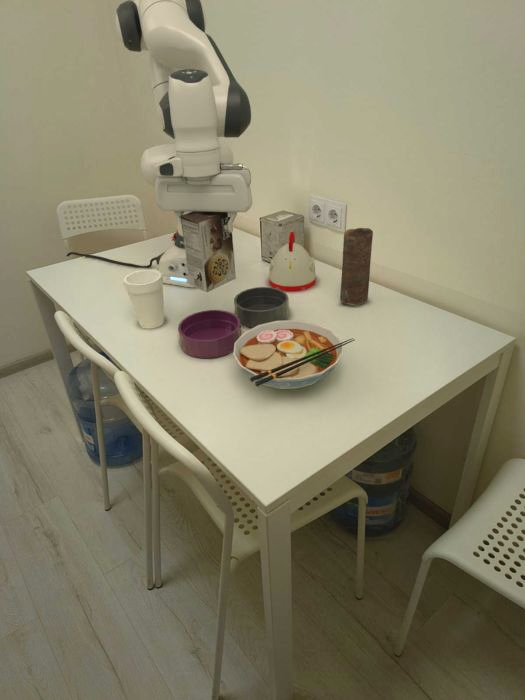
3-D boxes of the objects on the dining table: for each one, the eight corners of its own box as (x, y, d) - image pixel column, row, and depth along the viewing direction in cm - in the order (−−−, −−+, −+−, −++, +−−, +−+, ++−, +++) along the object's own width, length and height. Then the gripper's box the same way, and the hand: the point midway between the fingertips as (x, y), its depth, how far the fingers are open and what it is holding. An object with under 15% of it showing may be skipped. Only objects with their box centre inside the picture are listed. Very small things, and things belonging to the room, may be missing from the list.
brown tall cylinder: (367, 309, 126) (372, 236, 115) (339, 308, 128) (342, 235, 117) (367, 296, 132) (373, 225, 122) (341, 295, 134) (344, 225, 123)
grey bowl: (229, 326, 122) (227, 309, 119) (243, 301, 134) (242, 285, 131) (282, 331, 119) (282, 313, 116) (293, 305, 130) (292, 288, 128)
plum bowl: (171, 356, 112) (167, 338, 109) (193, 325, 124) (191, 307, 121) (231, 362, 108) (229, 343, 106) (248, 329, 121) (247, 311, 118)
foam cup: (134, 334, 121) (123, 287, 114) (132, 317, 129) (122, 272, 122) (171, 327, 123) (163, 281, 116) (168, 311, 131) (160, 267, 124)
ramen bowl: (303, 335, 117) (303, 305, 112) (368, 380, 100) (371, 347, 96) (212, 370, 106) (208, 339, 102) (269, 427, 89) (267, 393, 85)
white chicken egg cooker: (266, 291, 139) (263, 241, 130) (272, 271, 150) (270, 224, 142) (314, 292, 136) (314, 241, 128) (317, 272, 148) (317, 224, 140)
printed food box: (218, 272, 114) (211, 204, 105) (236, 279, 111) (231, 209, 102) (188, 284, 109) (179, 214, 100) (206, 293, 105) (198, 221, 96)
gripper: (253, 160, 96) (257, 227, 103) (159, 160, 100) (170, 225, 108) (245, 167, 91) (250, 237, 98) (146, 167, 95) (158, 234, 103)
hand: (207, 231), depth 103 cm, fingers closed on printed food box, 8 cm apart
